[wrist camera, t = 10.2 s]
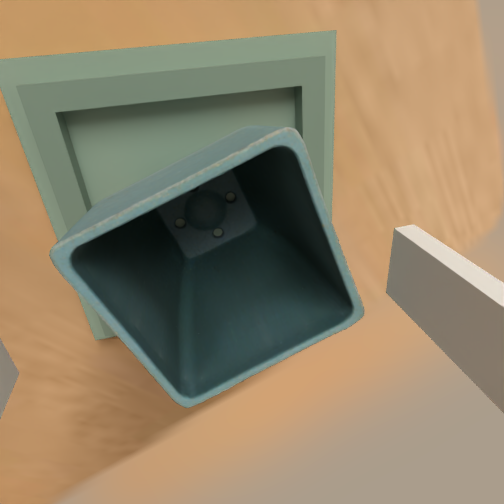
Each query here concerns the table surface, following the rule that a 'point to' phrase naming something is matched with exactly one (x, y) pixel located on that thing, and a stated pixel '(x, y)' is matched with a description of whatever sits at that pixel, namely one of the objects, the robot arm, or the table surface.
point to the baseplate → (162, 113)
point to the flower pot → (215, 263)
